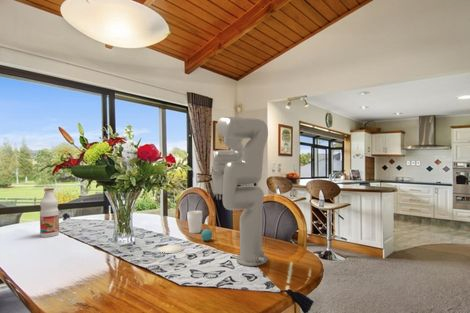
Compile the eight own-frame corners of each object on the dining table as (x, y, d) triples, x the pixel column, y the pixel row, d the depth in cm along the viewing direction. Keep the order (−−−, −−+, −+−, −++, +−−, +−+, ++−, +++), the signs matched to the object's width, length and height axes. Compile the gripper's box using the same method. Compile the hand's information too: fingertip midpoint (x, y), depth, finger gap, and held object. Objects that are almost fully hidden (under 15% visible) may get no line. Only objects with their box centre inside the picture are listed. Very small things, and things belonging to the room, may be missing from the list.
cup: (195, 234, 164) (194, 213, 164) (184, 232, 170) (183, 212, 170) (205, 231, 171) (205, 211, 172) (195, 229, 177) (194, 209, 177)
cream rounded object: (189, 249, 138) (189, 249, 138) (164, 255, 129) (164, 255, 129) (176, 243, 148) (176, 243, 148) (152, 249, 139) (152, 248, 139)
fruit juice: (62, 234, 172) (61, 187, 172) (46, 238, 163) (45, 189, 163) (53, 232, 176) (52, 187, 176) (36, 236, 168) (36, 188, 168)
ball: (214, 240, 152) (214, 229, 152) (205, 242, 148) (205, 231, 148) (208, 238, 156) (208, 227, 156) (199, 240, 152) (198, 229, 152)
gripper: (233, 173, 155) (234, 207, 155) (217, 172, 166) (218, 204, 166) (222, 174, 150) (223, 209, 150) (206, 173, 162) (207, 205, 162)
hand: (220, 206), depth 158 cm, fingers closed
